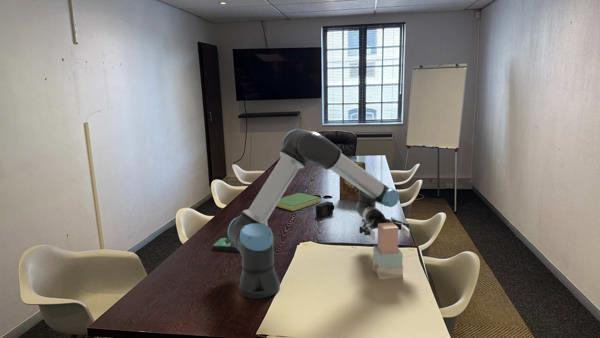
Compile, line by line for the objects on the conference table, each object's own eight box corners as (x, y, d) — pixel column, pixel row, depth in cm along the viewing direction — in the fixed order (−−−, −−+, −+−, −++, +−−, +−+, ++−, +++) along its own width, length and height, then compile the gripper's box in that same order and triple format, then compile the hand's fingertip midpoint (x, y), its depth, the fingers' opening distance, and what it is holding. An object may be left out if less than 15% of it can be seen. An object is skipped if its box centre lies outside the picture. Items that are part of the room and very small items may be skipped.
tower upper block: (373, 257, 161) (373, 245, 160) (395, 256, 161) (395, 244, 160) (378, 267, 152) (379, 255, 151) (402, 266, 152) (402, 253, 151)
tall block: (377, 247, 158) (377, 223, 156) (392, 246, 159) (392, 222, 157) (382, 253, 152) (382, 228, 150) (397, 252, 153) (398, 227, 151)
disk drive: (250, 244, 192) (221, 242, 195) (249, 239, 191) (221, 236, 195) (242, 253, 182) (212, 250, 186) (242, 247, 182) (211, 245, 185)
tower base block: (373, 269, 162) (373, 257, 160) (394, 267, 162) (394, 256, 161) (380, 279, 153) (380, 267, 152) (402, 278, 154) (403, 265, 153)
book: (338, 199, 260) (338, 162, 255) (342, 197, 265) (341, 160, 260) (361, 203, 252) (361, 164, 247) (365, 200, 256) (365, 162, 251)
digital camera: (323, 218, 224) (322, 206, 223) (315, 217, 228) (315, 205, 226) (334, 214, 231) (334, 202, 230) (327, 212, 235) (327, 201, 234)
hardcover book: (299, 198, 269) (299, 192, 268) (320, 202, 256) (320, 197, 256) (271, 206, 252) (271, 200, 251) (292, 212, 239) (292, 206, 238)
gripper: (401, 223, 174) (422, 242, 153) (345, 227, 171) (359, 247, 150) (401, 207, 172) (423, 223, 152) (345, 211, 169) (359, 228, 149)
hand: (391, 235), depth 151 cm, fingers open, 13 cm apart
